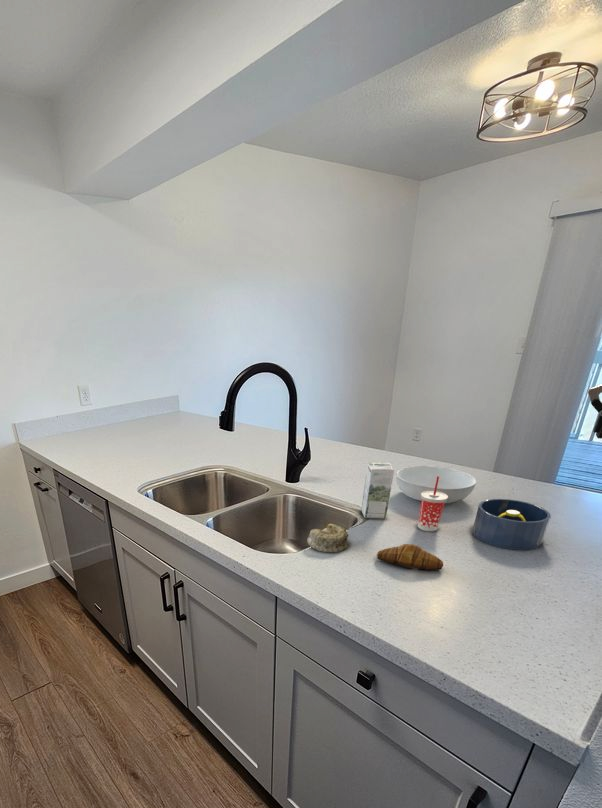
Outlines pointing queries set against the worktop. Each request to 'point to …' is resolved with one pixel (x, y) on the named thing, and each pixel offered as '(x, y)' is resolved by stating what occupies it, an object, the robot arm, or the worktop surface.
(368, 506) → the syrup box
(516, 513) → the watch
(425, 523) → the beverage cup
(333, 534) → the beige coiled mound
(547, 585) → the worktop surface
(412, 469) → the serving bowl
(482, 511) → the blue pet bowl
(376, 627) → the worktop surface
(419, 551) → the croissant
